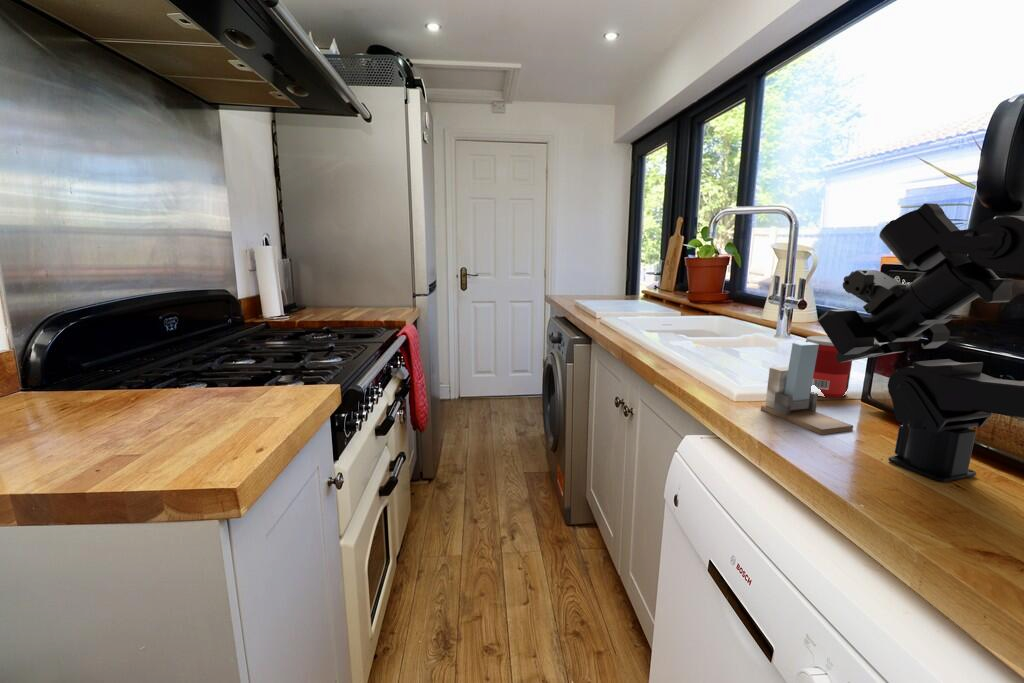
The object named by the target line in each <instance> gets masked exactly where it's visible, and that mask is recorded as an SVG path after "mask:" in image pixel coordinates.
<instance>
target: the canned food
mask: <svg viewBox="0 0 1024 683" xmlns="http://www.w3.org/2000/svg"><path fill="white" fill-rule="evenodd" d="M805 342H812V343H816V344H819V347H818V352H817V358H816V363H815V369H814V374H813V380H812V385H815V386H816V387H817V388H818V389H820V390H821V392H822V393H823V394H824V396H825V397H824V398H827V399H842V398H844V397H843V395H844V394H845V392H846V391H847V389H848V388H849V384H850V379H851V378H850V377H851V370H852V364H853V361H847V362H838V361H837V359H836V355H837V353H838V351H837V349H836V348H835V346H834V345H833V343H832V342H831V340H830V339H829V337H828V336H827V335H826V336H825V335H811V336H807V337H806V339H805ZM848 390H849V389H848ZM847 392H848V391H847Z"/></svg>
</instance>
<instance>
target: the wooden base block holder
mask: <svg viewBox="0 0 1024 683" xmlns="http://www.w3.org/2000/svg"><path fill="white" fill-rule="evenodd" d="M788 368H789V365H785V366H784V365H783V366H774V367H769V370H768V380H767V387H766V388H767V390H766V398H765V404H761V406H760V410H761V411H764V412H766V413H768V414H770V415H773V416H775V417H778V418H780V419H783V420H786V421H788V422H790V423H793V424H795V425H798V426H800V427H803V428H805V429H807V430H810V431H813V432H815V433H817V434H819V435H827V434H833V433H841V432H849V431H853V430H854V425H853V424H850V423H848V422H845V421H843V420H840V419H837V418H834V417H831V416H828V415H825V414H824V413H820V412H818V411H817V404H818V403H817V402H818V397H819V396H818V394H817V393H814V392H811V391H810V397H809V398H810V402H809V407H808V409H799V410H790V409H791V401H792V396H789V395H786V394H784V392H785V386H786V380H787V374H788Z"/></svg>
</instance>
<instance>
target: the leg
mask: <svg viewBox="0 0 1024 683" xmlns="http://www.w3.org/2000/svg"><path fill="white" fill-rule="evenodd" d="M818 347H819V344H816V343H812V342H806V341H801V342H800V341H799V342H792V345H791V350H790V357H789V362H788V366H789V368H788V374H787V380H786V386H785V392H784V394H786V395H789V396H792V401H791V409H790V410H799V409H808V407H809V402H810V398H809V397H810V391H811V386H812V380H813V374H814V369H815V363H816V358H817V352H818Z"/></svg>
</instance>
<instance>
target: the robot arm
mask: <svg viewBox="0 0 1024 683" xmlns="http://www.w3.org/2000/svg"><path fill="white" fill-rule="evenodd" d="M878 236H879V238H880V240H881V241H882V242H883V243H884V245H886V247H887V248H888V249H889V251H890V252H891V253H892V254H893V256H895V258H896V259H897V260H898V261H899V262H900V264H901V265H902V266H903V267H904V268H905V269H907V270H915V269H918V270H919V271H925V272H924V273H923V274H921V275H920V276H918V277H917V278H916V279H914V280H913V281H912V282H910V283H909V284H903V283H901V281H898V280H897V279H894V278H893V277H891V276H889V275H888V274H886V273H884V272H882V271H880V270H877V269H876V270H875V269H857V270H854V271H851V272H850V274H849V275H847V276H844V278H843V283H842V288H843V289H844V292H846V293H848V294H851V295H853V296H855V297H856V298H858V299H859V300H861V301H862V302H864V303H866V304H864V306H862V308H863V309H864V311H865V312H866V314H869V315H871V316H870V317H861V315H860V314H859V313H858V311H857V310H854V309H849V308H848V309H847V308H846V309H829V310H827V311H826V312H824V314H822V315H820V316H819V318H818V320H817V322H818V323H819V325H820V326H821V328H822V329H823V331H824V333H825V334H826V336H828V337H829V339H830V340H831V342H832V343H833V345H834V346H835V348H836V349H837V351H838V353H837V355H836V359H837V361H838V362H847V361H852V362H853V361H857V360H858V361H859V360H862V359H867V358H874V357H880V356H885V355H886V356H887V355H891V354H897V353H904V352H906V347H905V345H904V344H903V342H915V341H916V342H917V341H919V340H920V339H922V338H923V337H924V336H925V337H926V338H927V339H926V340H925V341H924V340H923V342H921V348H922V349H923V350H926V349H937V348H939V347H940V346H942V345H944V344H946V343H947V342H949V339H950V335H951V330H949V329H948V328H947V326H946V325H945V324H947V323H949V322H950V321H952V320H953V317H952V314H953V313H955V312H956V311H958V310H959V309H961V308H963V307H965V306H966V305H967V304H970V303H971V302H973V301H974V300H977V298H981V299H982V300H983V301H984V302H985V303H987V304H988V303H1009V302H1010V301H1011V300H1012V293H1013V291H1012V285H1013V284H1014V283H1015V281H1014V280H1015V279H1013V278H1000V277H999V276H998V275H997V274H996V273H995V272H994V271H997V272H1002V273H1007V274H1012V275H1015V276H1021V277H1022V276H1023V277H1024V215H996V216H994V217H992V218H989V219H986V220H985V221H982V222H981V223H980V224H978V225H977V226H976V227H975V228H968V229H959V227H957V225H956V224H955V223H953V221H952V220H951V219H950V218H949V217H948V216H947V214H946V213H945V212H944V210H943V208H942V207H941V206H940V205H939V204H938V203H929V202H927V203H923V204H922V205H921V206H920V207H918V208H917V209H913V210H912V211H909V212H907V213H904V214H902V215H901V216H899V217H897V218H896V219H892V220H890V221H889V222H888V223H886V225H884V226H883V228H882V229H881V230H880V232H879V235H878ZM911 365H912V366H911ZM911 365H910V366H903V367H899V368H896V370H895V371H893V373H891V375H890V377H889V378H888V381H887V390H888V395H889V396H890V398H891V401H892V407H893V410H894V416H895V420H896V421H897V422H899V423H902V425H899V426H898V430H897V435H896V441H895V442H896V443H895V448H894V455H891V456H888V459H887V460H888V462H890V463H894V464H896V465H897V466H901V467H903V468H905V469H908V470H911V471H913V472H915V473H918V474H920V475H923V476H925V477H927V478H930V479H933V480H935V481H937V482H942V483H945V482H950V481H956V480H961V479H967V478H971V477H976V475H977V472H976V471H975V470H973V469H970V465H971V464H970V463H971V458H972V454H973V448H974V443H975V438H976V434H977V431H976V430H975V429H971V428H976V427H978V428H981V427H983V426H984V425H985V424H986V423H987V421H988V420H989V419H990V417H991V416H992V414H996V415H1000V416H1001V415H1003V416H1009V417H1015V418H1021V419H1024V381H1022V380H1011V379H1004V378H1003V379H1002V378H996V377H993V376H992V375H991V376H990V375H987V374H985V373H982V370H983V366H984V362H983V361H980V362H979V361H978V362H976V361H975V362H959V361H955V360H953V359H951V358H946V359H944V358H943V359H932V360H921V361H912V363H911Z"/></svg>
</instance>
